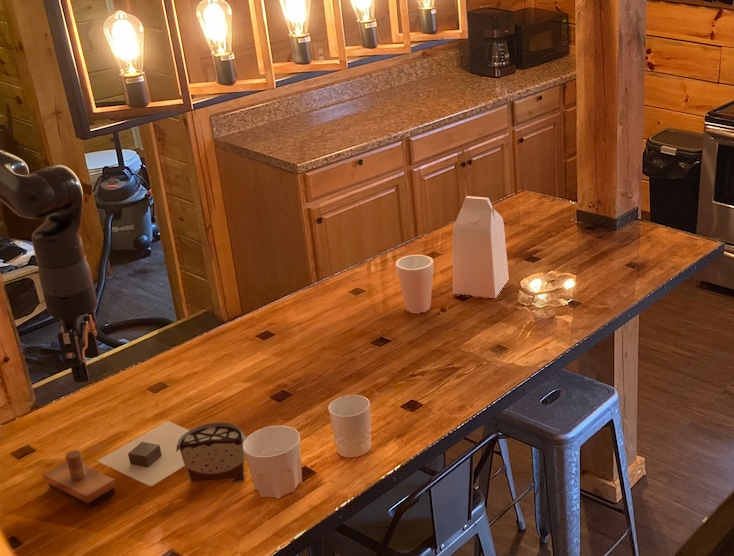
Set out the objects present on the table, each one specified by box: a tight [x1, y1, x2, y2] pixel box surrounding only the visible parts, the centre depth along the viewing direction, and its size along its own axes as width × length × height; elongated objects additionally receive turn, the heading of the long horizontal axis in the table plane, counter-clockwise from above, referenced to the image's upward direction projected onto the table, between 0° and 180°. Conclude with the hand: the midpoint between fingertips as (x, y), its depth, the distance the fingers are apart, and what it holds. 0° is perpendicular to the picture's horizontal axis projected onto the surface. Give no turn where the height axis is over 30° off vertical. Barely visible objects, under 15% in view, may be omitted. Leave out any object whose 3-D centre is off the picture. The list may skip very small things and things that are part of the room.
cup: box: [242, 425, 303, 500], centre depth 176 cm, size 10×10×10 cm
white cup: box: [327, 394, 372, 459], centre depth 187 cm, size 8×8×10 cm
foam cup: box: [395, 254, 435, 314], centre depth 244 cm, size 10×9×13 cm
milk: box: [452, 195, 510, 299], centre depth 252 cm, size 12×12×26 cm
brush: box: [43, 449, 117, 509], centre depth 174 cm, size 13×6×9 cm, turn 60°
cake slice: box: [176, 421, 247, 484], centre depth 179 cm, size 12×6×10 cm, turn 100°
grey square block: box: [128, 442, 162, 467], centre depth 183 cm, size 4×4×2 cm
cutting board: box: [96, 420, 191, 487], centre depth 186 cm, size 16×16×1 cm
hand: (87, 368), depth 165 cm, fingers open, 8 cm apart
